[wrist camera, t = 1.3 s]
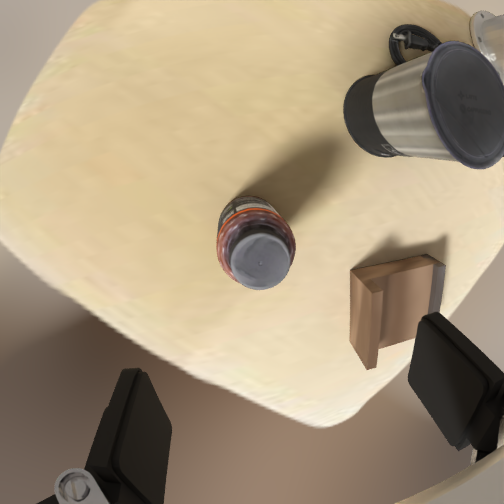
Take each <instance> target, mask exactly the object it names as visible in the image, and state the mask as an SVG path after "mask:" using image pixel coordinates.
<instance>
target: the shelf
mask: <svg viewBox="0 0 504 504" xmlns="http://www.w3.org/2000/svg"><path fill="white" fill-rule="evenodd" d="M445 267H446V265H444V264H443V263H441V262H439V261H438V260H436V259H435V258H433V257H431V256H430V255H428V254H425V255H421V256H416V257H412V258H407V259H402V260H398V261H393V262H388V263H383V264H378V265H373V266H369V267H364V268H359V269H353V270H350V343H351V344H352V346H353V348H354V349H355V351H356V353H357V354H358V356H359V358H360V359H361V361H362V363H363V364H364V366H365V368H366V369H367V370H369V369H372V368H376V365H377V357H378V349H381V348H384V347H387V346H391V345H394V344H397V343H400V342H404V341H407V340H410V339H413V338H416V333H417V327H418V323H419V321H421V318H422V317H423V316H424V315H427V314H430V313H433V312H439V311H440V305H441V299H442V292H443V284H444V276H445Z"/></svg>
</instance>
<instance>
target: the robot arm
mask: <svg viewBox="0 0 504 504" xmlns="http://www.w3.org/2000/svg"><path fill="white" fill-rule="evenodd" d="M470 31H471V37H472V41H473V44H474V47H475V49H477V50H478V51H480V52H481V53H482V54H483V55H484V56H485V57H486V58H487V59H488V60H489V62H490V63H491V64H492V65H493V66H494V68H495V69H496V71H497V73H498V74H499V76H500V78H501V80H502V82H503V85H504V15H500V16H497V17H496V16H495V15H493V14H491V13H490V12H487V11H479V12H476V13H475V14H473V16H472V17H471V21H470ZM408 382H409V384H410V386H411V387H412V389H413V390H414V392H415V393H416V395H417V396H418V398H419V399H420V400H421V402H422V403H423V405H424V406H425V408H426V409H427V411H428V412H429V414H430V415H431V417H432V418H433V420H434V421H435V423H436V424H437V426H438V427H439V429H440V430H441V432H442V433H443V435H444V436H445V438H446V439H447V441H448V442H449V444H450V445H451V446H455V447H456V449H457V450H458V451H459V450H461V449H463V448H465V447H466V446H468V445H470V443H471V445H472V446H473V453H472V458H471V464H470V466H469V467H468V468H466V469H464V470H463V471H461V472H459V473H457V474H456V475H454V476H452V477H451V478H449V479H447V480H445V481H443V482H441V483H439V484H437V485H435V486H433V487H431V488H429V489H427V490H425V491H422V492H420V493H418V494H416V495H414V496H411V497H409V498H407V499H404V500H402V501H400V502H397V503H395V504H504V373H503V372H502V371H501V370H500V369H499V368H498V367H497V366H496V365H495V364H494V363H493V362H492V361H491V360H490V359H489V358H488V357H487V356H486V355H485V354H484V353H483V352H482V351H481V350H480V349H479V348H478V347H477V346H476V345H474V344H473V343H472V342H471V341H470V340H469V339H468V338H467V337H466V336H465V335H463V333H462V332H460V331H459V330H458V329H457V328H456V327H455V326H454V325H453V324H451V323H450V322H449V321H448V320H447V319H446V318H445V317H444V316H443V315H441V314H440V313H439V312H433V313H430V314H427V315H424V316H423V317H422V318H421V321H419V323H418V327H417V333H416V339H415V344H414V350H413V355H412V360H411V364H410V370H409V373H408ZM171 434H172V426H171V422H170V420H169V418H168V416H167V414H166V412H165V410H164V409H163V406H162V404H161V402H160V400H159V398H158V396H157V394H156V392H155V390H154V387H153V385H152V383H151V381H150V378H149V376H148V374H147V373H146V372H142V370H141V369H140V368H129V369H123V370H122V372H121V374H120V377H119V379H118V382H117V384H116V387H115V390H114V392H113V395H112V398H111V400H110V403H109V406H108V407H107V408H106V409H105V411H104V413H103V416H102V418H101V421H100V424H99V427H98V430H97V433H96V436H95V438H94V441H93V445H92V447H91V450H90V453H89V456H88V459H87V462H86V466H85V469H80V468H72V469H69V470H66V471H65V472H63V473H62V474H61V475H60V476H59V477H58V478H57V480H56V482H55V488H54V490H55V495H52V496H51V497H49V498H47V499H45V500H43V501H41V502H39V503H37V504H163V503H164V494H165V484H166V474H167V466H168V457H169V450H170V441H171Z"/></svg>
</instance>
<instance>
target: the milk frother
mask: <svg viewBox="0 0 504 504" xmlns="http://www.w3.org/2000/svg"><path fill="white" fill-rule="evenodd" d="M412 34H415V35H412ZM416 35H417V36H416ZM419 36H420V37H419ZM421 37H422V38H421ZM423 38H424V39H423ZM403 40H404V43H405V44H404V46H405V49H408V48H412V49H421V50H422V51H424V50H428V51H431V53H428V54H426V55H423V56H421V57H418V58H415V59H413V60H410V61H408V62H406V61H405V60H404V58H403V57H402V55H401V53H400V51H399V46H398V42H399V41H403ZM389 49H390V54H391V57H392V59H393V61H394V62H395V64H396V65H397V66H396V67H394V68H391V69H389V70H387V71H384V72H382V73H379V74H377V75H369V76H365V77H363V78H361V79H359V80H357V81H356V82H355V83H354V84H353V85H352V86H351V87H350V88H349V90H348V92H347V94H346V97H345V100H344V109H343V110H344V111H343V112H344V119H345V123H346V126H347V129H348V131H349V133H350V135H351V136H352V138H353V139H354V141H355V142H356V143H357V144H358V145H359V146H360V147H361V148H362V149H364V150H365V151H366V152H368V153H370V154H372V155H375V156H379V157H394V156H409V157H420V158H430V159H440V160H449V161H457V162H461V163H462V164H463V165H465V166H467V167H470V168H473V169H486V168H489V167H491V166H493V165H494V164H496V163H497V162H498V161H499V160H500V159H501V158H502V157H504V85H503V82H502V80H501V78H500V76H499V74H498V73H497V71H496V69H495V68H494V66H493V65H492V64H491V63H490V62H489V60H488V59H487V58H486V57H485V56H484V55H483V54H482V53H481V52H480V51H478V50H477V49H475V48H474V47H472V46H470V45H468V44H465V43H463V42H459V41H449V42H445V43H443V44H442V43H441V42H440V41H439V39H437V38H436V37H435V36H434V35H433V34H431V33H430V32H429V31H427V30H425V29H423V28H421V27H419V26H416V25H408V24H407V25H401V26H399V27H397V28H395V29H394V31H393V32H392V33H391V35H390V38H389Z"/></svg>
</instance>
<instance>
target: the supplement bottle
mask: <svg viewBox="0 0 504 504" xmlns="http://www.w3.org/2000/svg"><path fill="white" fill-rule="evenodd" d="M295 250H296V244H295V239H294V235H293V233H292V231H291V229H290V227H289V226H288V224H287V223H286V222H285V220H284V219H283V218H282V217H281V216H280V215H279V214H278V212H277V211H276V210H275V209H274V208H273V207H272V206H271V205H270V204H269V203H268V202H266V201H265V200H263V199H261V198H259V197H254V196H244V197H240V198H237V199H235V200H233V201H231V202H230V203H229V204H228V205H227V206H226V207H225V208H224V210H223V212H222V213H221V215H220V218H219V223H218V233H217V256H218V260H219V262H220V265H221V267H222V268H223V270H224V271H225V272H226V274H227V275H228V276H229V277H231V278H232V279H233V280H235V281H236V282H238V283H240V284H242V285H244V286H245V287H248V288H250V289H255V290H264V289H268V288H272V287H274V286H276V285H277V284H279V283H280V282H281V281H282V280H283V279H284V278H285V276H286V275H287V273H288V271H289V268H290V266H291V265H292V262H293V260H294V256H295Z"/></svg>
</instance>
